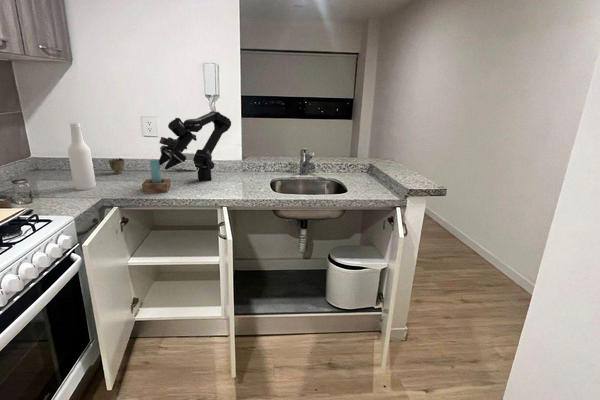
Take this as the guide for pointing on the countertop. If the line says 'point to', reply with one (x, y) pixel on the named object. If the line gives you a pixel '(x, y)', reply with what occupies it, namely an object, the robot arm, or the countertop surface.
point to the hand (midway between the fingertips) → (161, 167)
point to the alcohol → (80, 160)
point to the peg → (155, 171)
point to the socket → (156, 186)
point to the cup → (117, 165)
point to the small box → (189, 156)
